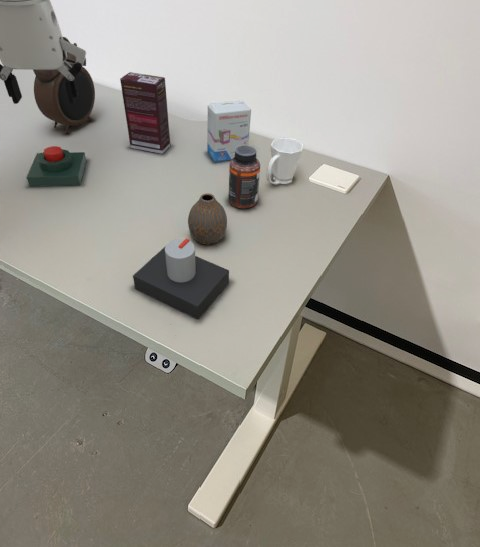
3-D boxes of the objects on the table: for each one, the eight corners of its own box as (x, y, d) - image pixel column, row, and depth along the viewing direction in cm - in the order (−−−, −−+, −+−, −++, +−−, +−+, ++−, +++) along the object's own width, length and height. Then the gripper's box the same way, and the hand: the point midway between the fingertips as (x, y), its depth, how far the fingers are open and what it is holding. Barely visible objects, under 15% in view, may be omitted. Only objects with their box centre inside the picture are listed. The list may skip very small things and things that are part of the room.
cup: (304, 178, 93) (310, 144, 87) (280, 197, 87) (284, 162, 81) (278, 167, 96) (282, 133, 90) (252, 185, 90) (255, 150, 84)
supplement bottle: (263, 203, 85) (268, 152, 77) (241, 213, 82) (245, 161, 74) (243, 190, 88) (247, 139, 80) (222, 199, 85) (223, 148, 77)
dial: (185, 286, 63) (184, 260, 60) (161, 276, 65) (158, 250, 61) (201, 269, 66) (200, 243, 62) (177, 259, 67) (175, 233, 64)
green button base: (29, 186, 86) (23, 169, 83) (39, 162, 93) (34, 145, 90) (80, 185, 87) (76, 168, 84) (86, 161, 94) (82, 144, 91)
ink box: (214, 163, 96) (214, 112, 87) (207, 153, 99) (206, 103, 91) (248, 157, 98) (251, 108, 90) (240, 148, 102) (243, 99, 93)
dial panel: (135, 289, 66) (132, 275, 64) (169, 257, 72) (167, 243, 70) (198, 319, 63) (197, 306, 60) (228, 283, 68) (229, 270, 66)
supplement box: (171, 145, 101) (166, 76, 90) (162, 154, 97) (156, 84, 86) (138, 139, 102) (129, 70, 91) (129, 148, 99) (118, 78, 88)
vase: (191, 252, 73) (190, 211, 67) (186, 228, 78) (184, 187, 72) (230, 247, 75) (231, 206, 69) (222, 224, 80) (223, 184, 73)
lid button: (44, 162, 86) (41, 154, 84) (47, 154, 88) (45, 146, 87) (62, 162, 86) (60, 154, 85) (65, 153, 89) (63, 145, 87)
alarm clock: (66, 140, 100) (42, 49, 86) (42, 133, 102) (16, 43, 88) (105, 118, 110) (89, 33, 96) (83, 112, 112) (65, 27, 98)
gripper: (77, -15, 68) (97, 92, 80) (-37, -18, 66) (1, 92, 78) (69, -4, 63) (92, 109, 75) (-55, -7, 61) (-11, 109, 73)
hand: (45, 100), depth 76 cm, fingers open, 9 cm apart
